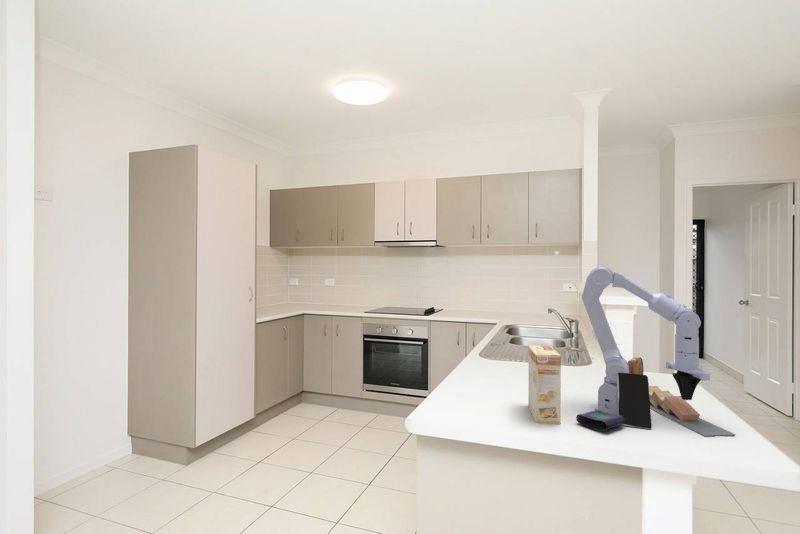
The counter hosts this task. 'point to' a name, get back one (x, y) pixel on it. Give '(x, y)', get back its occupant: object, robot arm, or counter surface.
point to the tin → (635, 366)
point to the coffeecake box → (544, 384)
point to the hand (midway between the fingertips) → (686, 399)
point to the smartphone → (634, 400)
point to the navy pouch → (600, 420)
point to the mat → (695, 424)
